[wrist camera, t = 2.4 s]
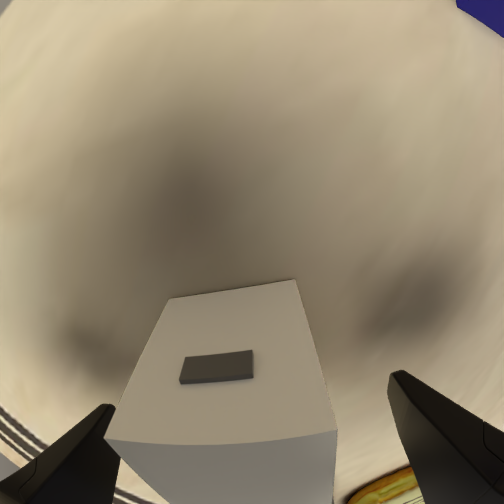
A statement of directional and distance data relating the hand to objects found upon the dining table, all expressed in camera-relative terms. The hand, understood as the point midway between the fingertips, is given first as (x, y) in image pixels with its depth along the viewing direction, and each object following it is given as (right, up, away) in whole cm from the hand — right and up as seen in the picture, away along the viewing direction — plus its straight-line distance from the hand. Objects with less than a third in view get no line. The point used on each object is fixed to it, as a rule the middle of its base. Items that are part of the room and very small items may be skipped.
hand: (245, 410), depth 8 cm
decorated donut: (+13, -16, +10) cm, 23 cm away
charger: (0, 0, +3) cm, 3 cm away
